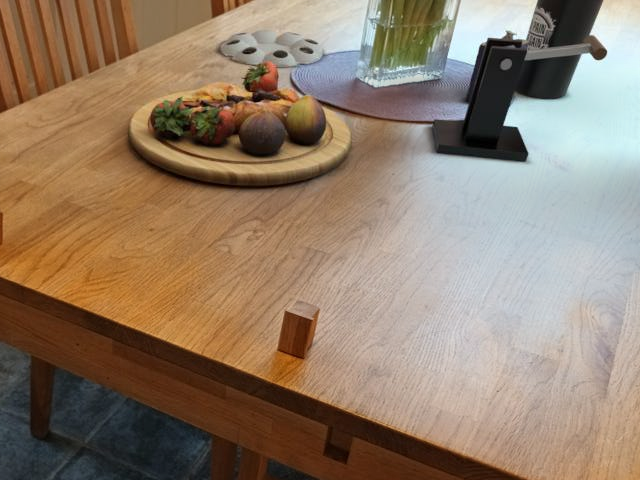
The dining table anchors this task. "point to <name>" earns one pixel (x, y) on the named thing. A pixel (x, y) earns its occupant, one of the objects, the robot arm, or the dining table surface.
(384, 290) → the dining table surface
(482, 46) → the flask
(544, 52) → the lever
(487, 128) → the black stand
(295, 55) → the round palette
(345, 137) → the wooden plate
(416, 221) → the dining table surface
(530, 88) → the water bottle
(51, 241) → the dining table surface
